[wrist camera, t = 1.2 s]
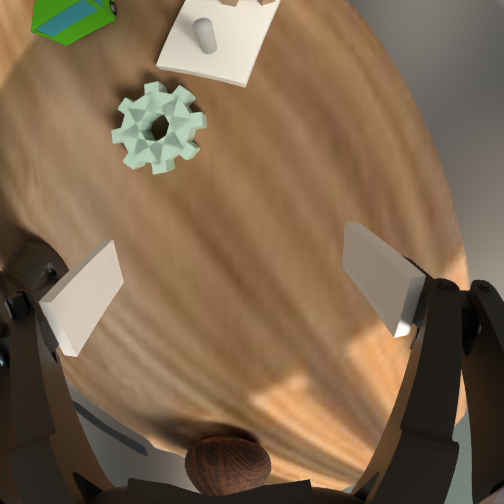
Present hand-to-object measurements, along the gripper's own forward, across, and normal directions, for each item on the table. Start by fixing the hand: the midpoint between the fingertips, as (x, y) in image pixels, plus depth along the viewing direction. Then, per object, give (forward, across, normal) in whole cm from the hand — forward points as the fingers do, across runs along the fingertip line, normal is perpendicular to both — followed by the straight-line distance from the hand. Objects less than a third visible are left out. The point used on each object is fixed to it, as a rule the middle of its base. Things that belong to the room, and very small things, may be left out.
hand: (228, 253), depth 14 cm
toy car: (+20, -19, +32) cm, 43 cm away
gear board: (+20, +1, +25) cm, 32 cm away
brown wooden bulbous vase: (+20, -8, -63) cm, 67 cm away
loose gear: (+20, -8, +9) cm, 23 cm away
